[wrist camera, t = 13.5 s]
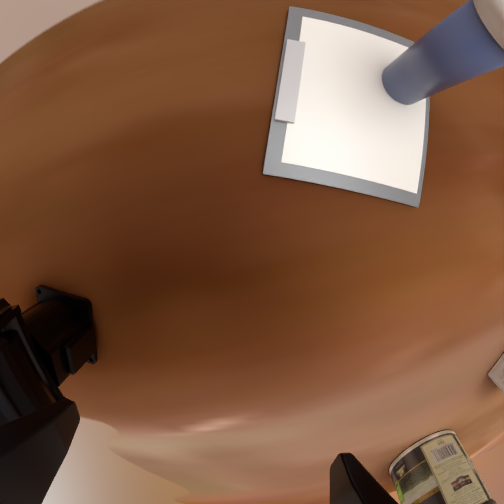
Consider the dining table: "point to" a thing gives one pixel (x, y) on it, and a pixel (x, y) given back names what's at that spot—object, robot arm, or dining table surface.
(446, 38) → the marker
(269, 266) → the dining table surface
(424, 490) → the coffee can
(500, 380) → the small box
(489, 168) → the dining table surface
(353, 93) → the clipboard
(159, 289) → the dining table surface
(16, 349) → the robot arm
